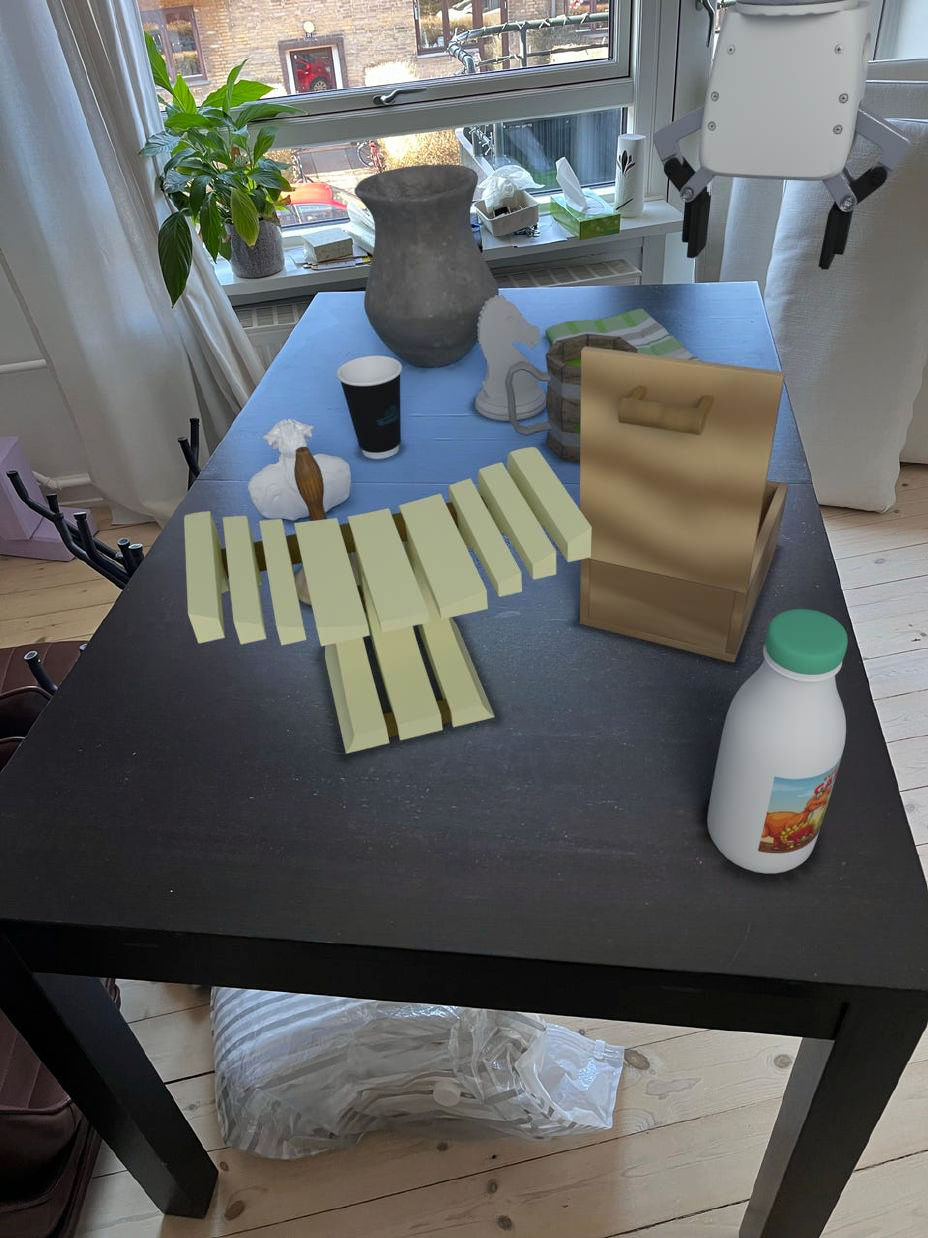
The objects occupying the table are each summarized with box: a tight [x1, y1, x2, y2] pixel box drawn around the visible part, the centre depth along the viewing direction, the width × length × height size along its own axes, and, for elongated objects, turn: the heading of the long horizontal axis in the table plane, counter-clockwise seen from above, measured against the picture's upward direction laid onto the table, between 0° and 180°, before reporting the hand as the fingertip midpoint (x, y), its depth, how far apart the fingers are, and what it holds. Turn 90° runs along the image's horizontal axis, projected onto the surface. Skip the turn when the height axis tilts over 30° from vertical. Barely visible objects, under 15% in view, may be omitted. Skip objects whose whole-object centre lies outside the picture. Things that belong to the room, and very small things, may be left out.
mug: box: [505, 334, 638, 464], centre depth 108 cm, size 16×11×12 cm
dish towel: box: [545, 308, 702, 361], centre depth 128 cm, size 17×23×4 cm
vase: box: [354, 163, 500, 368], centre depth 126 cm, size 20×19×25 cm
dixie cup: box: [336, 355, 403, 460], centre depth 110 cm, size 8×8×11 cm
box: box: [578, 479, 790, 664], centre depth 86 cm, size 19×15×8 cm
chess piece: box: [474, 294, 547, 422], centre depth 116 cm, size 10×10×15 cm
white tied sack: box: [246, 418, 352, 521], centre depth 102 cm, size 12×8×11 cm
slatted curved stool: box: [183, 446, 592, 754], centre depth 76 cm, size 30×16×18 cm, turn 105°
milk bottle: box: [706, 608, 848, 874], centre depth 59 cm, size 8×8×20 cm
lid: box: [579, 346, 786, 593], centre depth 69 cm, size 20×15×5 cm
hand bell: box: [294, 446, 360, 607], centre depth 88 cm, size 8×8×16 cm
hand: (759, 257), depth 67 cm, fingers open, 9 cm apart
